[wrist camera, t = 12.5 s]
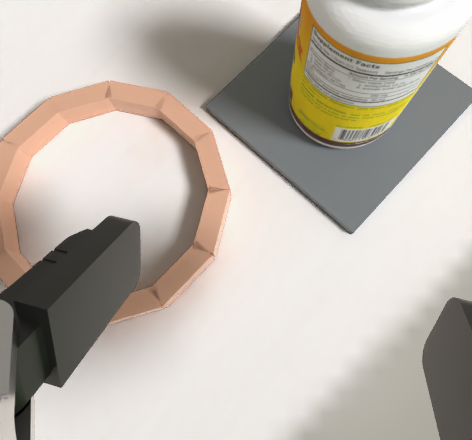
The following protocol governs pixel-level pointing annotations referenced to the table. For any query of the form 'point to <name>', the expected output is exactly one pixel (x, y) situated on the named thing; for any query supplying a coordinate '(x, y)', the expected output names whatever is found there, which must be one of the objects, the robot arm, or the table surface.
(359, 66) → the supplement bottle
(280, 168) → the mat
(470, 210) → the table surface
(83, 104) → the faceted open ring
